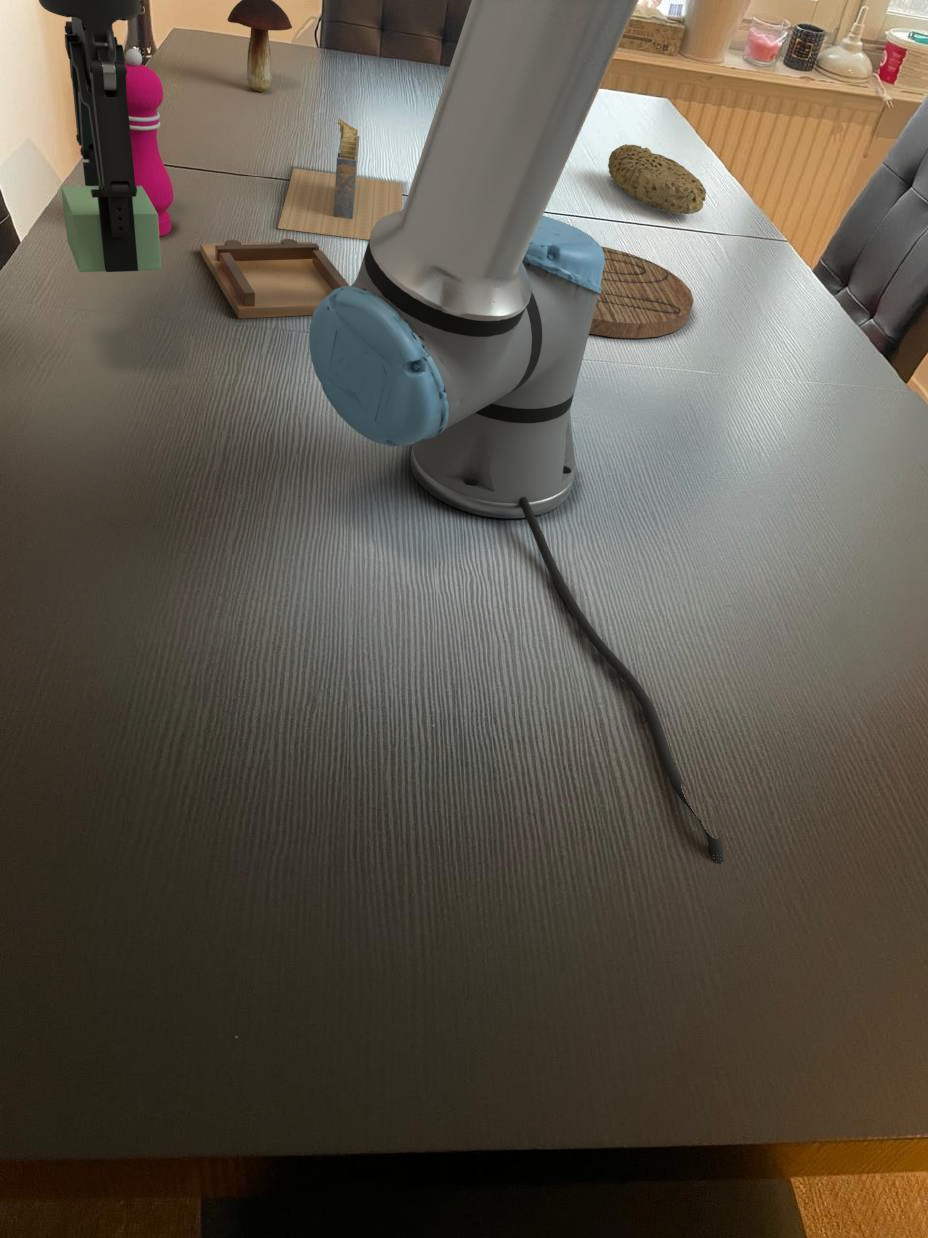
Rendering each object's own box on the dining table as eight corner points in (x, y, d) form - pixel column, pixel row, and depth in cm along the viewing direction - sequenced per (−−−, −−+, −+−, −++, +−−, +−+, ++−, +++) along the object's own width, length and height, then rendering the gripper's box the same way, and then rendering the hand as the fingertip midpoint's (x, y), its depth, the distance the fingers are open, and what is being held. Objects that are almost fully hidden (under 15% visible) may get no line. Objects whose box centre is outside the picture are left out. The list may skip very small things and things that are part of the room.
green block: (161, 269, 89) (157, 213, 86) (79, 272, 86) (72, 214, 83) (145, 240, 93) (142, 185, 90) (67, 241, 91) (60, 185, 87)
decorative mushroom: (216, 83, 176) (214, -15, 167) (268, 80, 183) (269, -14, 173) (251, 101, 171) (251, 1, 161) (303, 98, 177) (306, 1, 168)
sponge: (594, 184, 167) (629, 199, 150) (610, 135, 164) (649, 145, 147) (662, 207, 171) (705, 225, 154) (680, 160, 167) (725, 172, 150)
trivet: (710, 347, 120) (715, 333, 119) (510, 325, 117) (512, 310, 115) (665, 267, 139) (669, 253, 138) (491, 245, 135) (493, 232, 134)
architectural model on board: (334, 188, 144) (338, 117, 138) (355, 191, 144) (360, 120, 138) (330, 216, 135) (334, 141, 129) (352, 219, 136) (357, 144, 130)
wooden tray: (358, 312, 114) (360, 290, 112) (238, 318, 108) (238, 295, 107) (311, 250, 126) (311, 229, 124) (200, 253, 120) (199, 230, 118)
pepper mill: (160, 244, 120) (149, 61, 107) (103, 231, 121) (86, 47, 108) (184, 225, 126) (177, 49, 113) (130, 213, 126) (117, 36, 113)
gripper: (16, -76, 80) (54, 213, 95) (50, -25, 67) (87, 301, 82) (113, -67, 83) (135, 212, 98) (163, -17, 70) (180, 296, 85)
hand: (113, 252), depth 90 cm, fingers closed on green block, 7 cm apart
